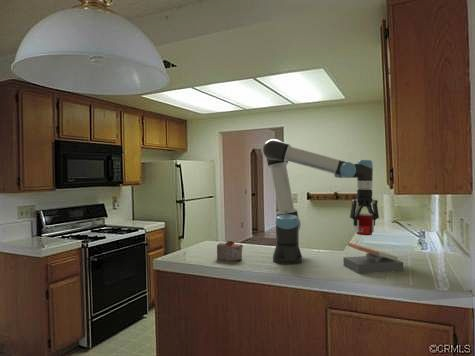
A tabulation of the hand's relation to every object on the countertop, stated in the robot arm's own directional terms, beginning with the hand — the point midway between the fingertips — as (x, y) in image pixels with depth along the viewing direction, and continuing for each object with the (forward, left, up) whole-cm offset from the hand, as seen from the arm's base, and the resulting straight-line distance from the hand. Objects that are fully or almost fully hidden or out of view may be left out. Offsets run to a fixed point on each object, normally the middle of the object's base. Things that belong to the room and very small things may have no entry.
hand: (364, 231), depth 173 cm
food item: (-71, +11, -14) cm, 73 cm away
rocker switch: (-7, -18, -8) cm, 21 cm away
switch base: (-7, -18, -14) cm, 24 cm away
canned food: (0, 0, -2) cm, 2 cm away
